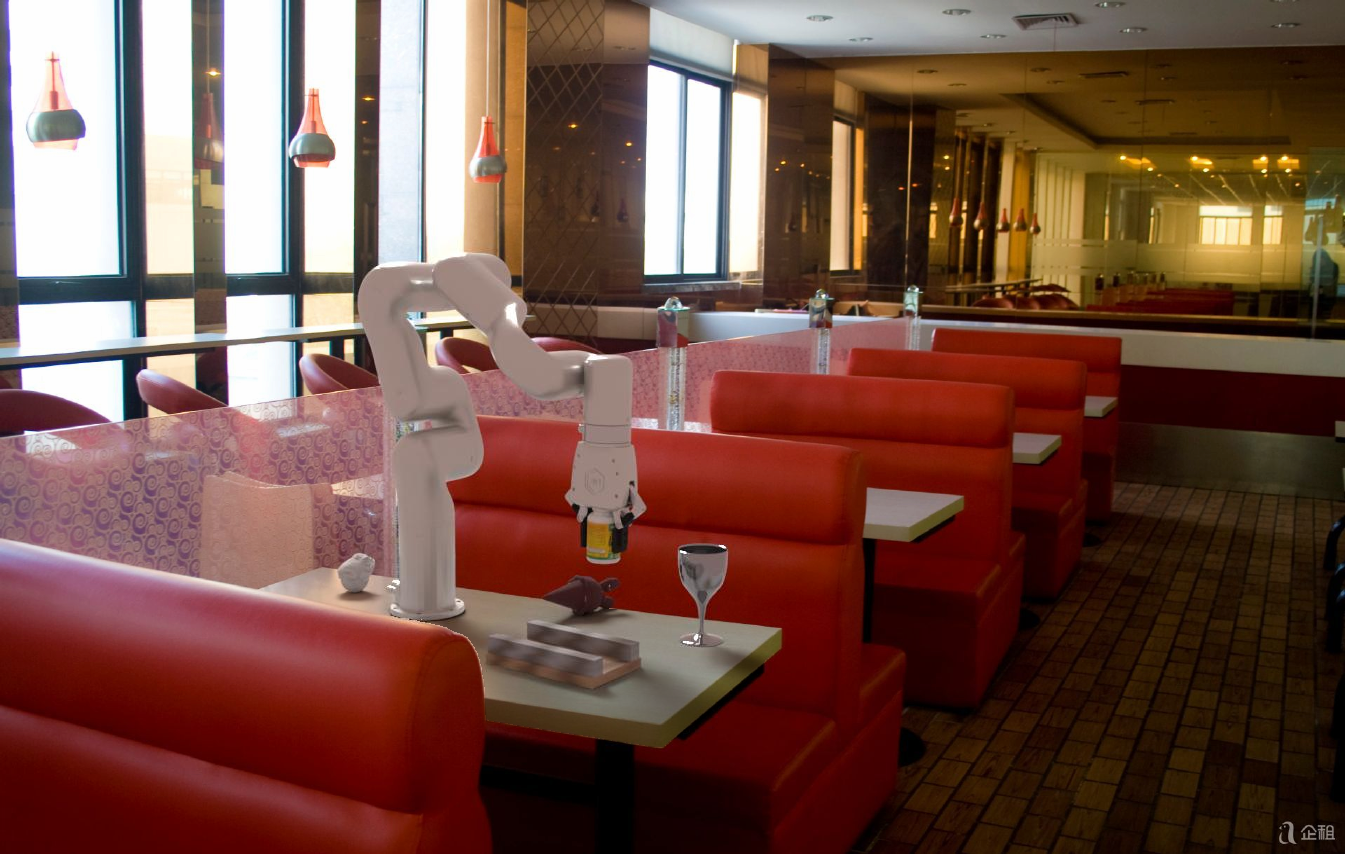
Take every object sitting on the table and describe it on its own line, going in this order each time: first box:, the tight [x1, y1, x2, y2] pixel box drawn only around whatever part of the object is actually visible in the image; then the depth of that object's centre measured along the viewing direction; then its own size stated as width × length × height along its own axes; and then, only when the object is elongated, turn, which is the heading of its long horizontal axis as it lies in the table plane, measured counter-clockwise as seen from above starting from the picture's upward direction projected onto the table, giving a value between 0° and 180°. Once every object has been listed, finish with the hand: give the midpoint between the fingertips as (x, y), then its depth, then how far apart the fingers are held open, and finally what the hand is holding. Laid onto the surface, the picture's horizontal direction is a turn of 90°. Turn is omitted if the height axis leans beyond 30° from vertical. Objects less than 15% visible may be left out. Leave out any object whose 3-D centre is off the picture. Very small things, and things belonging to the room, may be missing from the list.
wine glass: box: [677, 542, 729, 648], centre depth 192 cm, size 8×8×15 cm
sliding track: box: [485, 619, 642, 690], centre depth 179 cm, size 20×12×4 cm, turn 57°
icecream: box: [541, 574, 621, 617], centre depth 207 cm, size 7×7×15 cm
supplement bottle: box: [586, 508, 621, 565], centre depth 188 cm, size 5×5×10 cm
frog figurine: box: [337, 552, 376, 593], centre depth 219 cm, size 6×7×7 cm
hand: (603, 547), depth 188 cm, fingers closed on supplement bottle, 5 cm apart
